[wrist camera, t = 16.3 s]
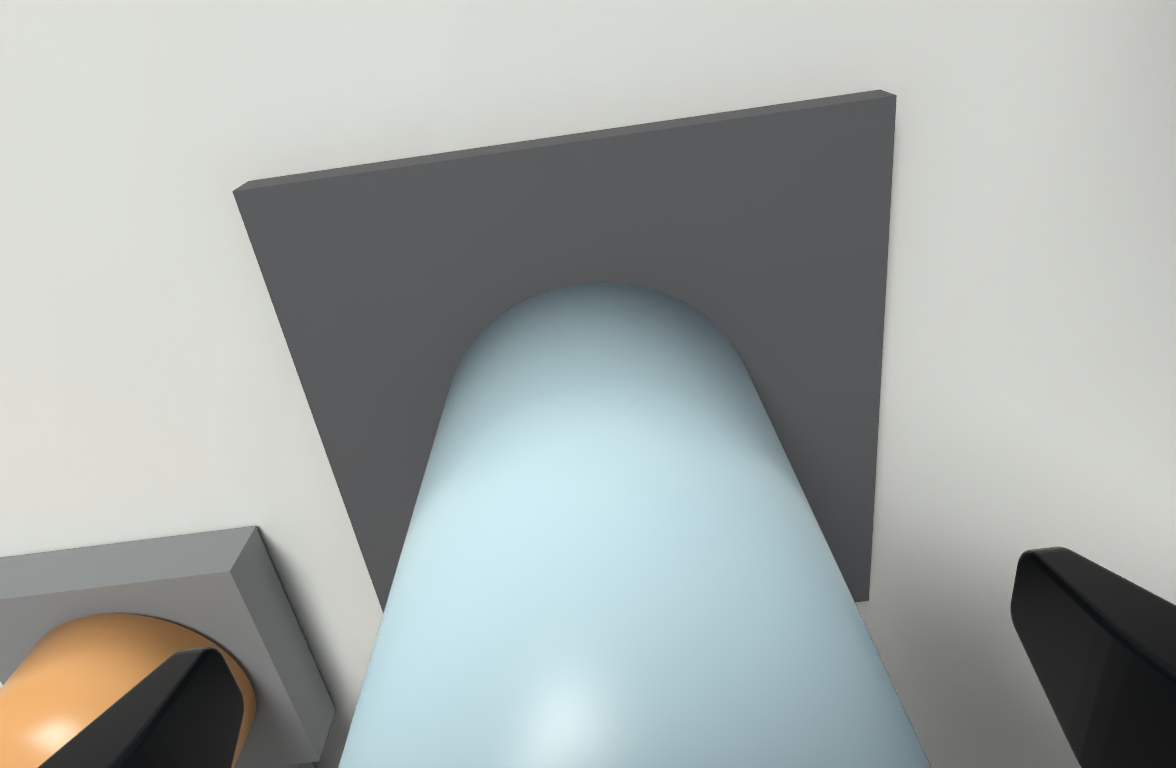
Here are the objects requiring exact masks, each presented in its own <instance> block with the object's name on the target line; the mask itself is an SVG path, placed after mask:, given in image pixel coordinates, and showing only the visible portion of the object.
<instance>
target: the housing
mask: <svg viewBox="0 0 1176 768" xmlns="http://www.w3.org/2000/svg"><path fill="white" fill-rule="evenodd" d="M111 613H114V614H133V615H141V616H147V617H152V618H156V619H161V620H164V621H167V622H171V623H174V624H177V625H179V626H182V627H184V628H187V629H189V630H191V631H193V632H195V633H197V634H199V635H201V636H203V637H205V638H206V639H208V640H210V641H211V642H213V643H214V644H216V645H217V646H218V647H220V648H221V649H222V650H224V651H225V652H226V653H227V654H228V655H229V656H230V657H231V658H233V659H234V660H235V661H236V662H237V664H238V665H239V666H240V667H241V669H242V670H243V671H244V673H245V674H246V676H247V678H248V679H249V681H250V683H251V685H252V688H253V690H254V694H255V699H256V714H255V719H254V722H253V724H252V727H251V729H250V731H249V734H248V736H247V738H246V741H245V743H244V745H243V748H242V750H241V752H240V755H239V757H238V759H237V762H236V764H235V767H234V768H315V766H314V764H313V762H317V761H320V758H321V755H322V751H323V748H324V745H325V742H326V739H327V736H328V733H329V730H330V726H331V723H332V720H333V717H334V714H335V711H336V709H335V707H334V705H333V702H332V700H331V698H330V696H329V693H328V691H327V689H326V686H325V684H324V682H323V679H322V677H321V675H320V672H319V670H318V668H317V666H316V663H315V661H314V659H313V656H312V654H311V652H310V649H309V647H308V645H307V642H306V640H305V638H304V636H303V633H302V631H301V629H300V626H299V624H298V622H297V619H296V617H295V615H294V613H293V610H292V608H291V606H290V603H289V601H288V599H287V596H286V594H285V592H284V589H283V587H282V585H281V583H280V580H279V578H278V576H277V573H276V571H275V569H274V566H273V564H272V562H271V560H270V557H269V555H268V553H267V550H266V548H265V546H264V543H263V541H262V539H261V536H260V534H259V532H258V530H257V527H256V526H251V527H243V528H235V529H227V530H219V531H210V532H202V533H194V534H186V535H178V536H170V537H162V538H154V539H146V540H138V541H130V542H122V543H114V544H106V545H98V546H90V547H82V548H74V549H66V550H58V551H50V552H42V553H34V554H26V555H18V556H10V557H2V558H0V681H1V683H2V684H3V685H4V684H5V682H6V681H7V680H8V679H9V677H10V676H11V675H12V674H13V672H14V671H15V670H16V669H17V667H18V666H19V665H20V664H21V663H22V661H23V660H24V659H25V658H26V656H27V655H28V654H29V653H30V651H31V650H32V649H33V648H34V646H35V645H36V644H37V643H38V641H39V640H40V639H41V638H42V637H43V636H44V635H46V634H47V633H48V632H49V631H51V630H52V629H54V628H55V627H57V626H59V625H61V624H63V623H66V622H68V621H70V620H74V619H77V618H80V617H85V616H91V615H96V614H111Z"/></svg>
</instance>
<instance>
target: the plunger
mask: <svg viewBox="0 0 1176 768" xmlns="http://www.w3.org/2000/svg"><path fill="white" fill-rule="evenodd" d="M200 647H215V648H216V649H218V650H219V651H220V652H221V653H222V655H223V657H224V659H225V661H226V663H227V665H228V667H229V669H230V670H231V672H232V674H233V676H234V678H235V680H236V682H237V684H238V686H239V688H240V690H241V692H242V695H243V700H244V715H243V720H242V725H241V729H240V733H239V738H238V742H237V746H236V751H235V755H234V759H233V764H232V768H234V767H235V764H236V762H237V759H238V757H239V755H240V752H241V750H242V748H243V745H244V743H245V741H246V738H247V736H248V734H249V731H250V729H251V727H252V724H253V722H254V719H255V714H256V699H255V694H254V690H253V688H252V685H251V683H250V681H249V679H248V678H247V676H246V674H245V673H244V671H243V670H242V669H241V667H240V666H239V665H238V664H237V662H236V661H235V660H234V659H233V658H231V657H230V656H229V655H228V654H227V653H226V652H225V651H224V650H222V649H221V648H220V647H218V646H217V645H216V644H214V643H213V642H211V641H210V640H208V639H206V638H205V637H203V636H201V635H199V634H197V633H195V632H193V631H191V630H189V629H187V628H184V627H182V626H179V625H177V624H174V623H171V622H167V621H164V620H161V619H156V618H152V617H147V616H141V615H133V614H114V613H111V614H96V615H91V616H85V617H80V618H77V619H74V620H70V621H68V622H66V623H63V624H61V625H59V626H57V627H55V628H54V629H52V630H51V631H49V632H48V633H47V634H46V635H44V636H43V637H42V638H41V639H40V640H39V641H38V643H37V644H36V645H35V646H34V648H33V649H32V650H31V651H30V653H29V654H28V655H27V656H26V658H25V659H24V660H23V661H22V663H21V664H20V665H19V666H18V667H17V669H16V670H15V671H14V672H13V674H12V675H11V676H10V677H9V679H8V680H7V681H6V682H5V684H4V685H3V686H2V687H1V689H0V768H37V767H39V766H40V765H41V764H42V763H43V762H45V761H46V760H47V759H48V758H49V757H51V756H52V755H53V754H54V753H55V752H57V751H58V750H59V749H60V748H61V747H63V746H64V745H65V744H66V743H67V742H69V741H70V740H71V739H72V738H73V737H74V736H76V735H77V734H78V733H79V732H80V731H82V730H83V729H84V728H85V727H86V726H88V725H89V724H90V723H91V722H92V721H94V720H95V719H96V718H97V717H98V716H100V715H101V714H102V713H103V712H104V711H106V710H107V709H108V708H109V707H110V706H112V705H113V704H114V703H115V702H116V701H117V700H119V699H120V698H121V697H122V696H123V695H125V694H126V693H127V692H128V691H129V690H131V689H132V688H133V687H134V686H135V685H137V684H138V683H139V682H140V681H141V680H143V679H144V678H145V677H146V676H147V675H149V674H150V673H151V672H152V671H153V670H155V669H156V668H157V667H158V666H159V665H160V664H162V663H163V662H164V661H165V660H166V659H168V658H169V657H170V656H171V655H173V654H174V653H176V652H178V651H180V650H184V649H192V648H200Z"/></svg>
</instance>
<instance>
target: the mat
mask: <svg viewBox="0 0 1176 768" xmlns="http://www.w3.org/2000/svg"><path fill="white" fill-rule="evenodd" d="M895 114H896V95H894V94H891V93H888V92H885V91H882V90H874V91H867V92H860V93H854V94H847V95H840V96H833V97H826V98H819V99H812V100H805V101H798V102H791V103H785V104H778V105H771V106H764V107H757V108H750V109H743V110H736V111H729V112H722V113H715V114H709V115H702V116H695V117H688V118H681V119H674V120H667V121H660V122H653V123H646V124H640V125H633V126H626V127H619V128H612V129H605V130H598V131H591V132H584V133H577V134H570V135H564V136H557V137H550V138H543V139H536V140H529V141H522V142H515V143H508V144H501V145H495V146H488V147H481V148H474V149H467V150H460V151H453V152H446V153H439V154H432V155H426V156H419V157H412V158H405V159H398V160H391V161H384V162H377V163H370V164H363V165H356V166H350V167H343V168H336V169H329V170H322V171H315V172H308V173H301V174H294V175H287V176H281V177H274V178H267V179H260V180H253V181H248V182H247V183H245V184H243V185H242V186H240V187H239V188H237V189H235V190H234V191H233V194H234V197H235V200H236V202H237V205H238V208H239V211H240V214H241V216H242V219H243V222H244V225H245V228H246V230H247V233H248V236H249V239H250V242H251V244H252V247H253V250H254V253H255V255H256V258H257V261H258V264H259V267H260V269H261V272H262V275H263V278H264V281H265V283H266V286H267V289H268V292H269V295H270V297H271V300H272V303H273V306H274V309H275V311H276V314H277V317H278V320H279V323H280V325H281V328H282V331H283V334H284V337H285V339H286V342H287V345H288V348H289V351H290V353H291V356H292V359H293V362H294V365H295V367H296V370H297V373H298V376H299V379H300V381H301V384H302V387H303V390H304V393H305V395H306V398H307V401H308V404H309V407H310V409H311V412H312V415H313V418H314V420H315V423H316V426H317V429H318V432H319V434H320V437H321V440H322V443H323V446H324V448H325V451H326V454H327V457H328V460H329V462H330V465H331V468H332V471H333V474H334V476H335V479H336V482H337V485H338V488H339V490H340V493H341V496H342V499H343V502H344V504H345V507H346V510H347V513H348V516H349V518H350V521H351V524H352V527H353V530H354V532H355V535H356V538H357V541H358V544H359V546H360V549H361V552H362V555H363V558H364V560H365V563H366V566H367V569H368V572H369V574H370V577H371V580H372V583H373V586H374V588H375V591H376V594H377V597H378V599H379V602H380V605H381V608H382V611H383V613H384V610H385V607H386V603H387V600H388V597H389V593H390V590H391V586H392V583H393V580H394V576H395V573H396V569H397V566H398V562H399V559H400V556H401V552H402V549H403V545H404V542H405V539H406V535H407V532H408V528H409V525H410V521H411V518H412V515H413V511H414V508H415V504H416V501H417V498H418V494H419V491H420V487H421V484H422V480H423V477H424V474H425V470H426V467H427V463H428V460H429V457H430V453H431V450H432V446H433V443H434V440H435V436H436V433H437V429H438V426H439V422H440V419H441V416H442V412H443V409H444V405H445V402H446V399H447V395H448V392H449V388H450V385H451V381H452V378H453V376H454V374H455V371H456V369H457V367H458V365H459V363H460V361H461V359H462V357H463V356H464V354H465V353H466V351H467V350H468V348H469V347H470V345H471V344H472V343H473V342H474V340H475V339H476V338H477V337H478V336H479V335H480V334H481V332H482V331H483V330H484V329H485V328H486V327H488V326H489V325H490V324H491V323H492V322H493V321H495V320H496V319H497V318H498V317H499V316H501V315H502V314H504V313H505V312H507V311H508V310H510V309H511V308H513V307H514V306H516V305H517V304H520V303H522V302H524V301H526V300H528V299H530V298H532V297H534V296H536V295H539V294H542V293H545V292H548V291H551V290H554V289H557V288H562V287H567V286H572V285H577V284H586V283H600V282H604V283H623V284H629V285H635V286H640V287H646V288H649V289H652V290H655V291H659V292H662V293H665V294H667V295H670V296H672V297H674V298H676V299H678V300H680V301H683V302H685V303H686V304H688V305H690V306H691V307H693V308H694V309H696V310H697V311H699V312H700V313H702V314H703V315H705V316H706V317H707V318H708V319H709V320H710V321H712V322H713V323H714V324H715V325H716V326H717V327H718V328H719V329H720V330H721V331H722V332H723V333H724V334H725V336H726V337H727V338H728V339H729V340H730V341H731V343H732V344H733V346H734V348H735V349H736V351H737V352H738V354H739V355H740V357H741V359H742V361H743V363H744V365H745V367H746V370H747V372H748V374H749V376H750V378H751V380H752V383H753V385H754V387H755V389H756V391H757V393H758V395H759V398H760V400H761V402H762V404H763V406H764V408H765V411H766V413H767V415H768V417H769V419H770V421H771V423H772V426H773V428H774V430H775V432H776V434H777V436H778V439H779V441H780V443H781V445H782V447H783V449H784V451H785V454H786V456H787V458H788V460H789V462H790V464H791V466H792V469H793V471H794V473H795V475H796V477H797V479H798V482H799V484H800V486H801V488H802V490H803V492H804V494H805V497H806V499H807V501H808V503H809V505H810V507H811V510H812V512H813V514H814V516H815V518H816V520H817V522H818V525H819V527H820V529H821V531H822V533H823V535H824V538H825V540H826V542H827V544H828V546H829V548H830V550H831V553H832V555H833V557H834V559H835V561H836V563H837V566H838V568H839V570H840V572H841V574H842V576H843V578H844V581H845V583H846V585H847V587H848V589H849V591H850V594H851V596H852V598H853V600H854V602H861V601H869V586H870V568H871V550H872V532H873V514H874V495H875V477H876V459H877V441H878V423H879V404H880V386H881V368H882V350H883V332H884V314H885V295H886V277H887V259H888V241H889V223H890V205H891V186H892V168H893V150H894V132H895Z"/></svg>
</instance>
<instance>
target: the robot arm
mask: <svg viewBox="0 0 1176 768" xmlns="http://www.w3.org/2000/svg"><path fill="white" fill-rule="evenodd" d="M1011 617H1012V621H1013V624H1014V627H1015V629H1016V632H1017V634H1018V636H1019V638H1020V640H1021V642H1022V644H1023V647H1024V649H1025V651H1026V653H1027V655H1028V657H1029V659H1030V662H1031V664H1032V666H1033V668H1034V670H1035V672H1036V674H1037V676H1038V679H1039V681H1040V683H1041V685H1042V687H1043V689H1044V691H1045V694H1046V696H1047V698H1048V700H1049V702H1050V704H1051V706H1052V709H1053V711H1054V713H1055V715H1056V717H1057V719H1058V721H1059V723H1060V726H1061V728H1062V730H1063V732H1064V734H1065V736H1066V738H1067V740H1068V742H1069V744H1070V746H1071V748H1072V750H1073V752H1074V754H1075V756H1076V758H1077V760H1078V762H1079V764H1080V766H1081V768H1176V605H1174V604H1172V603H1170V602H1168V601H1166V600H1165V599H1163V598H1161V597H1159V596H1157V595H1155V594H1153V593H1151V592H1149V591H1147V590H1146V589H1144V588H1142V587H1140V586H1138V585H1136V584H1134V583H1132V582H1130V581H1128V580H1127V579H1125V578H1123V577H1121V576H1119V575H1117V574H1115V573H1113V572H1111V571H1109V570H1108V569H1106V568H1104V567H1102V566H1100V565H1098V564H1096V563H1094V562H1092V561H1090V560H1089V559H1087V558H1085V557H1083V556H1081V555H1079V554H1077V553H1075V552H1073V551H1071V550H1069V549H1067V548H1063V547H1050V548H1041V549H1033V550H1027V551H1025V552H1023V553H1022V555H1021V556H1020V558H1019V561H1018V565H1017V571H1016V577H1015V582H1014V588H1013V594H1012V600H1011ZM243 715H244V700H243V695H242V692H241V690H240V688H239V686H238V684H237V682H236V680H235V678H234V676H233V674H232V672H231V670H230V669H229V667H228V665H227V663H226V661H225V659H224V657H223V655H222V653H221V652H220V651H219V650H218V649H216V648H215V647H200V648H192V649H184V650H180V651H178V652H176V653H174V654H173V655H171V656H170V657H169V658H168V659H166V660H165V661H164V662H163V663H162V664H160V665H159V666H158V667H157V668H156V669H155V670H153V671H152V672H151V673H150V674H149V675H147V676H146V677H145V678H144V679H143V680H141V681H140V682H139V683H138V684H137V685H135V686H134V687H133V688H132V689H131V690H129V691H128V692H127V693H126V694H125V695H123V696H122V697H121V698H120V699H119V700H117V701H116V702H115V703H114V704H113V705H112V706H110V707H109V708H108V709H107V710H106V711H104V712H103V713H102V714H101V715H100V716H98V717H97V718H96V719H95V720H94V721H92V722H91V723H90V724H89V725H88V726H86V727H85V728H84V729H83V730H82V731H80V732H79V733H78V734H77V735H76V736H74V737H73V738H72V739H71V740H70V741H69V742H67V743H66V744H65V745H64V746H63V747H61V748H60V749H59V750H58V751H57V752H55V753H54V754H53V755H52V756H51V757H49V758H48V759H47V760H46V761H45V762H43V763H42V764H41V765H40V766H39V767H37V768H232V764H233V759H234V755H235V751H236V746H237V742H238V738H239V733H240V729H241V725H242V720H243Z"/></svg>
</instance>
